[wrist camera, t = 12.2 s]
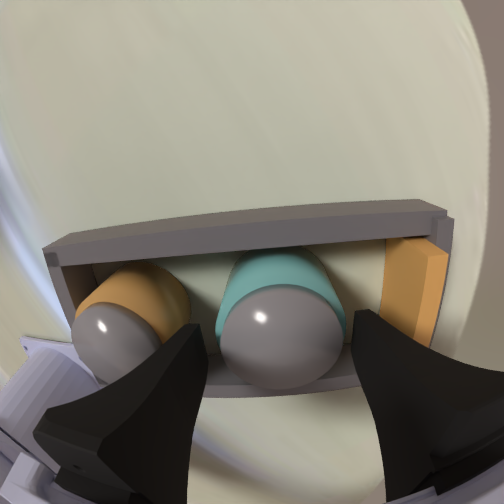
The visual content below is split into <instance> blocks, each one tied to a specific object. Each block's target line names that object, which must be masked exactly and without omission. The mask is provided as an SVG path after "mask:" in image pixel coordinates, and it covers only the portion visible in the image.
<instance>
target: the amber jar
mask: <svg viewBox="0 0 504 504" xmlns="http://www.w3.org/2000/svg"><path fill="white" fill-rule="evenodd" d="M190 318H191V305H190V301H189V297H188V295H187V293H186V291H185V289H184V288H183V286H182V285H181V284H180V282H179V281H178V280H177V279H176V278H175V277H174V276H173V275H172V274H171V273H169V272H168V271H166V270H165V269H163V268H161V267H159V266H157V265H154V264H151V263H148V262H131V263H128V264H125V265H123V266H121V267H120V268H119V269H117V270H116V271H115V272H114V273H113V274H112V275H111V276H110V277H109V278H107V279H106V280H105V281H104V282H103V283H102V284H101V285H100V286H99V287H98V288H97V289H96V290H95V291H93V292H92V293H91V294H90V295H89V296H88V297H87V298H86V299H85V300H84V301H83V302H82V303H81V304H80V305H79V307H78V309H77V311H76V315H75V320H74V322H73V325H72V329H71V337H72V342H73V345H74V348H75V350H76V352H77V354H78V355H79V357H80V359H81V360H82V361H83V363H84V364H85V365H86V366H87V367H88V368H89V369H90V370H91V371H92V372H93V373H94V374H95V375H96V376H98V377H99V378H100V379H102V380H103V381H105V382H107V383H109V384H111V383H113V382H115V381H117V380H118V379H120V378H121V377H123V376H124V375H126V374H127V373H129V372H130V371H132V370H133V369H135V368H136V367H137V366H138V365H140V364H141V363H142V362H143V361H145V360H146V359H147V358H148V357H149V356H151V355H152V354H153V353H154V352H155V351H156V350H158V349H159V348H160V347H161V346H162V345H163V344H164V343H165V342H166V341H167V340H168V339H169V338H170V337H171V336H173V335H174V334H175V333H176V332H177V331H178V330H179V329H180V328H181V327H182V326H183V325H185V324H189V322H190Z"/></svg>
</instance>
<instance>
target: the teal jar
mask: <svg viewBox="0 0 504 504" xmlns="http://www.w3.org/2000/svg"><path fill="white" fill-rule="evenodd" d="M215 332H216V339H217V343H218V346H219V348H220V350H221V353H222V357H223V359H224V361H225V363H226V364H227V366H228V367H229V369H230V370H231V371H232V372H233V373H234V374H235V375H237V376H238V377H239V378H241V379H242V380H244V381H246V382H248V383H250V384H253V385H255V386H259V387H262V388H268V389H290V388H295V387H299V386H303V385H306V384H308V383H311V382H313V381H315V380H316V379H318V378H320V377H321V376H323V375H324V374H325V373H326V372H328V371H329V369H330V368H331V367H332V366H333V365H334V364H335V362H336V361H337V359H338V357H339V355H340V353H341V350H342V346H343V340H344V337H345V332H346V318H345V314H344V310H343V308H342V306H341V304H340V301H339V299H338V297H337V295H336V293H335V290H334V288H333V286H332V284H331V282H330V280H329V278H328V275H327V273H326V271H325V269H324V267H323V265H322V264H321V262H320V261H319V260H318V258H317V257H316V256H315V255H313V254H312V253H311V252H310V251H308V250H306V249H305V248H303V247H300V246H287V247H275V248H264V249H252V250H249V251H248V252H247V253H245V254H244V255H243V256H242V257H241V258H240V259H239V260H238V261H237V262H236V263H235V265H234V267H233V268H232V270H231V272H230V275H229V278H228V282H227V285H226V289H225V292H224V296H223V299H222V303H221V306H220V310H219V313H218V317H217V321H216V328H215Z"/></svg>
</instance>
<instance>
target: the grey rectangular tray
mask: <svg viewBox="0 0 504 504" xmlns="http://www.w3.org/2000/svg"><path fill="white" fill-rule="evenodd" d="M453 229H454V219H453V218H451V217H449V216H447V210H445V209H443V208H440V207H438V206H435V205H433V204H430V203H428V202H425V201H423V200H420V199H411V200H381V201H359V202H340V203H324V204H309V205H296V206H283V207H271V208H260V209H249V210H239V211H229V212H220V213H211V214H202V215H193V216H185V217H177V218H169V219H161V220H154V221H147V222H140V223H133V224H126V225H119V226H113V227H106V228H100V229H94V230H88V231H82V232H76V233H70V234H68V235H66V236H64V237H62V238H60V239H58V240H57V241H55V242H53V243H51V244H49V245H47V246H46V247H44V248H42V250H43V253H44V257H45V260H46V263H47V267H48V270H49V273H50V276H51V279H52V282H53V285H54V288H55V291H56V293H57V296H58V299H59V301H60V304H61V306H62V309H63V312H64V314H65V316H66V319H67V321H68V324H69V326H70V328H71V329H72V325H73V322H74V320H75V315H76V311H77V309H78V307H79V305H80V304H81V303H82V302H83V301H84V300H85V299H86V298H87V297H88V296H89V295H90V294H91V293H92V292H93V291H95V290H96V289H97V288H98V286H97V283H96V280H95V277H94V274H93V270H92V267H91V263H103V262H114V261H125V260H136V259H148V258H159V257H171V256H182V255H194V254H205V253H217V252H228V251H240V250H252V249H264V248H275V247H287V246H299V245H311V244H323V243H335V242H347V241H359V240H371V239H383V238H396V237H408V236H422V237H423V238H425V239H426V240H428V241H429V242H431V243H432V244H434V245H436V246H437V247H439V248H440V249H442V250H443V251H445V252H446V253H447V254H449V255H448V262H447V269H446V275H445V280H444V286H443V291H442V296H441V301H440V305H439V309H438V314H437V318H436V322H435V326H434V329H433V333H432V337H431V340H430V344H429V347H428V348H429V349H430V346H431V343H432V339H433V336H434V332H435V328H436V325H437V321H438V317H439V313H440V309H441V304H442V300H443V295H444V290H445V285H446V280H447V274H448V268H449V262H450V255H451V247H452V238H453ZM207 357H208V361H209V364H208V373H207V380H206V385H205V389H204V393H203V397H208V398H246V397H271V396H286V395H297V394H307V393H316V392H324V391H332V390H339V389H345V388H351V387H357V386H361V383H360V381H359V378H358V376H357V373H356V370H355V366H354V363H353V358H352V354H351V344H346V345H343V346H342V350H341V353H340V355H339V357H338V359H337V361H336V362H335V364H334V365H333V366H332V367H331V368H330V369H329V371H328V372H326V373H325V374H324V375H323V376H321V377H320V378H318V379H316V380H315V381H313V382H311V383H308V384H306V385H303V386H299V387H295V388H290V389H268V388H262V387H259V386H255V385H253V384H250V383H248V382H246V381H244V380H242V379H241V378H239V377H238V376H237V375H235V374H234V373H233V372H232V371H231V370H230V369H229V367H228V366H227V364H226V363H225V361H224V359H223V357H222V355H207ZM92 373H93V372H92ZM93 375H94V377H95V378H96V380H97V382H98V384H99V385H100V387H106V386H108V385H109V383H107V382H105V381H103V380H102V379H100V378H99V377H98V376H96V375H95V374H94V373H93Z"/></svg>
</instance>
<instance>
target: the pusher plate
mask: <svg viewBox="0 0 504 504" xmlns="http://www.w3.org/2000/svg"><path fill="white" fill-rule="evenodd" d="M448 255H449V254H447V253H446V252H445V251H443V250H442V249H440V248H439V247H437V246H436V245H434V244H432V243H431V242H429V241H428V240H426V239H425V238H423V237H422V236H408V237H396V238H386V255H385V269H384V280H383V290H382V299H381V307H380V314H379V316H380V317H381V318H383V319H384V320H385V321H387V322H388V323H390V324H391V325H392V326H394V327H395V328H397V329H398V330H400V331H401V332H403V333H404V334H406V335H407V336H409V337H410V338H412V339H414V340H415V341H417V342H419V343H420V344H422V345H424V346H426V347H427V348H428V347H429V344H430V340H431V337H432V333H433V329H434V326H435V322H436V318H437V314H438V309H439V305H440V301H441V296H442V291H443V286H444V280H445V275H446V269H447V262H448Z"/></svg>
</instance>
